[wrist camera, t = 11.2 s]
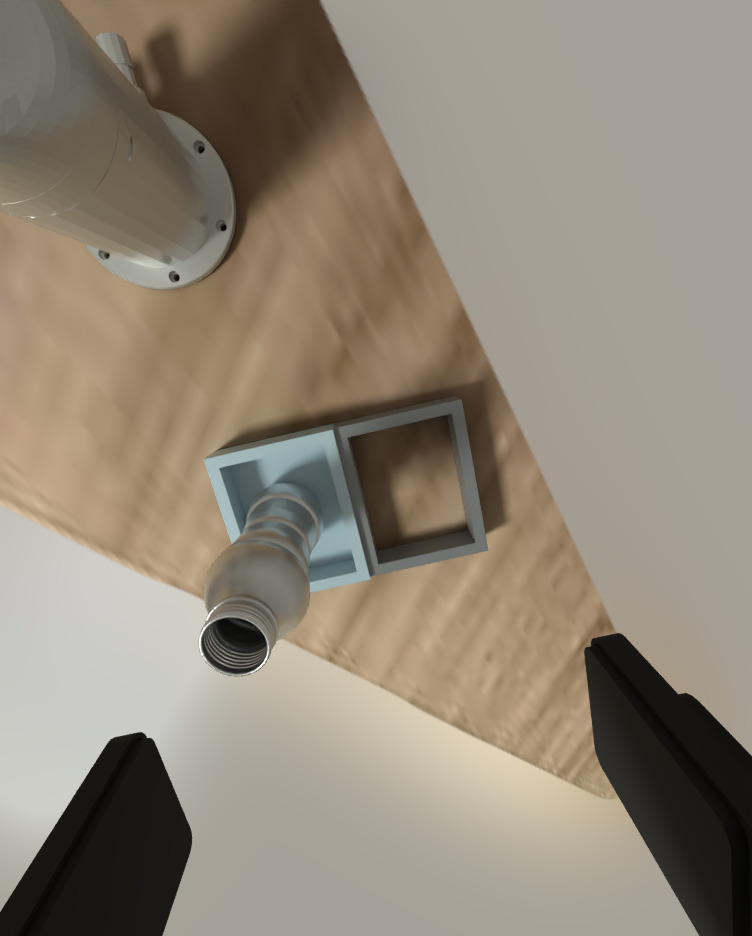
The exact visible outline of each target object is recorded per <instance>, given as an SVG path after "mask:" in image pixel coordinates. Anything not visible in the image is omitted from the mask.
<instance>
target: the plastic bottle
mask: <svg viewBox="0 0 752 936" xmlns="http://www.w3.org/2000/svg"><path fill="white" fill-rule="evenodd" d="M323 526H324V520H323V514H322V510H321V507H320V504H319V502H318V501H317V499H316V498H315V496H314V495H313V494H312V493H311V492H310V491H308V490H307V489H305V488H304V487H302V486H300V485H297V484H293V483H278V484H274V485H272V486H269V487H267V488H266V489H264V490H263V491H261V492H260V493H259V494H258V495H257V496H256V497H255V498H254V499H253V501H252V503H251V504H250V507H249V511H248V514H247V519H246V525H245V528H244V531H243V532H242V533H241V535H240V536H239V537H238V539H237V540H236V541H235V542H234V543H232V544H231V545H230V546H229V547H228V548H227V549H226V550H225V551H223V552H222V553H221V555H220V556H219V557H218V558H217V559H216V560H215V562H214V563H213V564H212V565H211V567H210V569H209V571H208V573H207V576H206V579H205V589H204V601H205V607H206V610H207V612H208V616H207V618H206V622H205V625H204V626H203V628H202V630H201V633H200V637H199V650H200V653H201V655H202V657H203V659H204V660H205V662H206V663H207V664H208V665H209V666H210V667H212V668H213V669H214V670H216V671H218V672H220V673H222V674H225V675H228V676H236V677H237V676H246V675H250V674H252V673H254V672H256V671H258V670H259V669H261V668H262V667H263V666H264V665H265V663H266V662H267V660H268V658H269V656H270V653H271V650H272V649H273V647H274V645H275V643H276V641H278V640H280V639H283V638H284V637H286V636H287V635H289V634H290V633H291V632H292V631H293V630H294V629H295V628H296V627H297V626H298V624H299V623H300V622H301V621H302V619H303V618H304V616H305V614H306V612H307V609H308V606H309V600H310V580H309V568H308V567H309V558H310V555H311V552H312V550H313V549H314V547H315V546H316V544H317V542H318V541H319V539H320V537H321V534H322V531H323Z"/></svg>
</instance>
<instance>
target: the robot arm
mask: <svg viewBox="0 0 752 936" xmlns="http://www.w3.org/2000/svg"><path fill="white" fill-rule="evenodd" d="M201 149H205V150H204V152H203V153H201V154H200V150H201ZM0 212H3V213H5V214H8V215H11V216H13V217H16V218H18V219H21V220H24V221H26V222H29V223H31V224H34V225H37V226H39V227H42V228H44V229H47V230H50V231H52V232H55V233H57V234H60V235H63V236H65V237H68V238H70V239H73V240H76V241H78V242H81V243H83V244H85V246H86V247H87V249H88V250H89V252H90V253H91V254H92V255H93V256H94V257H95V258H96V259H97V260H98V262H99V263H100V264H101V265H103V266H104V267H105V268H106V269H108V270H109V271H110V272H112V273H113V274H114V275H116V276H118V277H120V278H122V279H123V280H125V281H127V282H129V283H132V284H135V285H138V286H141V287H145V288H150V289H154V290H175V289H180V288H185V287H188V286H190V285H193V284H195V283H197V282H199V281H201V280H202V279H204V278H205V277H207V276H208V275H209V274H211V273H212V272H213V270H214V269H215V268H216V267H217V266H218V265H219V264H220V263H221V261H222V260H223V258H224V256H225V255H226V253H227V252H228V250H229V247H230V244H231V242H232V239H233V236H234V231H235V225H236V200H235V194H234V189H233V185H232V182H231V180H230V177H229V174H228V171H227V169H226V167H225V165H224V164H223V162H222V160H221V158H220V157H219V155H218V153H217V152H216V151H215V150H214V148H213V147H212V145H211V144H210V143H209V142H208V141H207V140H206V138H205V137H204V136H203V135H202V134H201V133H200V132H199V131H198V130H197V129H195V128H194V127H193V126H191V125H190V124H188V123H187V122H186V121H184V120H183V119H181V118H179V117H177V116H175V115H173V114H170V113H168V112H166V111H162V110H158V109H154V108H152V106H151V105H150V104H149V103H148V100H147V97H146V94H145V91H143V90H142V89H141V88H139V87H138V86H137V83H136V80H135V76H134V67H133V64H132V61H131V57H130V54H129V51H128V47H127V44H126V41H125V40H124V38H123V37H122V36H120V35H118V34H116V33H111V32H106V33H101V34H100V35H98V36H97V37H96V40H94V39H93V38H92V37H91V36H90V34H89V33H88V32H87V31H86V30H85V29H84V27H83V26H82V25H81V24H80V23H79V21H78V20H77V19H76V18H75V17H74V16H73V15H72V13H71V12H70V11H69V10H68V9H67V8H66V7H65V6H64V5H63V3H62V2H61V1H60V0H0ZM224 225H226V226H227V229H226V231H222V226H224ZM108 253H109V254H110V257H109V259H108V257H107V255H108ZM177 275H179V276H180V279H179V281H176V276H177ZM584 654H585V663H586V672H587V681H588V691H589V700H590V709H591V718H592V727H593V736H594V745H595V751H596V755H597V757H598V760H599V763H600V765H601V767H602V769H603V771H604V772H605V774H606V776H607V778H608V779H609V781H610V783H611V784H612V786H613V788H614V790H615V791H616V793H617V795H618V796H619V798H620V800H621V802H622V803H623V805H624V807H625V809H626V810H627V812H628V814H629V815H630V817H631V818H632V820H633V822H634V824H635V826H636V827H637V829H638V831H639V832H640V834H641V836H642V837H643V839H644V841H645V843H646V845H647V846H648V848H649V850H650V852H651V853H652V855H653V857H654V858H655V860H656V862H657V863H658V865H659V867H660V869H661V870H662V872H663V874H664V876H665V877H666V879H667V881H668V883H669V884H670V886H671V888H672V889H673V891H674V893H675V895H676V896H677V898H678V900H679V901H680V903H681V905H682V906H683V908H684V910H685V912H686V914H687V915H688V917H689V919H690V920H691V922H692V924H693V925H694V927H695V929H696V931H697V932H698V934H699V936H752V756H751V755H750V754H749V753H748V752H747V751H746V750H745V749H744V748H743V747H742V746H741V744H740V743H738V741H737V740H736V739H735V738H734V737H733V736H732V735H731V734H730V733H729V732H728V731H727V730H726V729H725V728H724V727H723V726H722V725H721V724H720V723H719V722H718V721H717V720H716V719H715V718H714V717H713V715H711V713H710V712H709V711H708V710H707V709H706V708H705V707H704V706H703V705H702V704H701V703H700V702H699V701H698V700H697V699H695V698H694V697H693V696H691V695H689V694H687V693H683V694H677V693H676V691H675V690H674V689H673V688H672V687H671V686H670V685H669V684H668V683H667V682H666V681H665V680H664V678H663V677H662V676H661V675H660V674H659V673H658V672H657V671H656V670H655V669H654V668H653V667H652V666H651V664H650V663H649V662H648V661H647V660H646V659H645V658H644V657H643V656H642V655H641V654H640V653H639V651H638V650H637V649H636V648H635V647H634V646H633V645H632V644H631V643H630V642H629V641H628V640H627V639H626V637H625V636H623V635H622V634H620V633H616V634H612V635H607V636H602V637H597V638H593V639H592V641H591V647H586V648H585V650H584ZM191 845H192V833H191V829H190V826H189V824H188V822H187V819H186V817H185V814H184V812H183V809H182V807H181V805H180V802H179V800H178V798H177V795H176V793H175V790H174V788H173V785H172V783H171V781H170V778H169V776H168V773H167V771H166V769H165V766H164V764H163V761H162V759H161V756H160V754H159V752H158V749H157V747H156V745H155V742H154V741H153V739H151V738H147V737H146V735H145V734H144V733H142V732H139V733H133V734H129V735H124V736H119V737H115V738H113V739H111V740H110V741H109V742H108V743H107V745H106V747H105V748H104V750H103V751H102V753H101V754H100V756H99V757H98V759H97V761H96V762H95V764H94V766H93V767H92V768H91V770H90V772H89V773H88V775H87V776H86V778H85V780H84V781H83V783H82V784H81V786H80V787H79V789H78V790H77V792H76V794H75V795H74V797H73V798H72V800H71V802H70V803H69V805H68V806H67V808H66V809H65V811H64V812H63V814H62V816H61V817H60V819H59V820H58V822H57V824H56V825H55V827H54V828H53V830H52V832H51V833H50V834H49V836H48V838H47V839H46V841H45V843H44V844H43V846H42V847H41V849H40V850H39V852H38V853H37V855H36V857H35V858H34V860H33V861H32V863H31V864H30V866H29V868H28V869H27V871H26V872H25V874H24V875H23V877H22V879H21V880H20V882H19V883H18V885H17V886H16V888H15V890H14V891H13V893H12V895H11V896H10V898H9V899H8V901H7V902H6V904H5V905H4V907H3V909H2V910H1V912H0V936H162V935H163V932H164V929H165V926H166V923H167V920H168V917H169V914H170V911H171V908H172V905H173V902H174V899H175V896H176V893H177V890H178V887H179V884H180V881H181V878H182V875H183V872H184V869H185V866H186V863H187V860H188V857H189V854H190V851H191Z"/></svg>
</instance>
